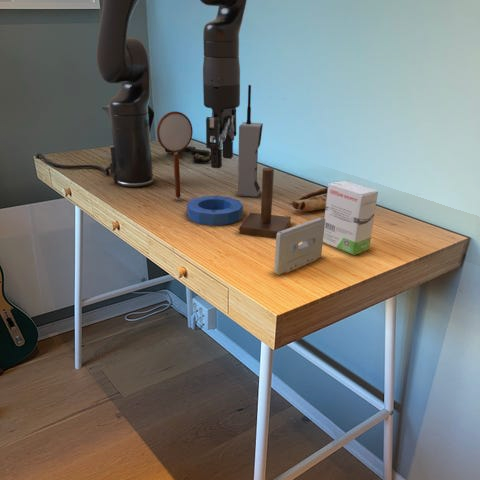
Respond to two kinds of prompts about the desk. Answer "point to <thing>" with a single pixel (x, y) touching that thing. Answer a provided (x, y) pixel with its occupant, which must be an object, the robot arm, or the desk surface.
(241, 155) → the vintage mobile phone
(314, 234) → the cassette
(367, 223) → the ink box
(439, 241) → the desk surface
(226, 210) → the tape roll
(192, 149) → the rubber snake
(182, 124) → the magnifying glass
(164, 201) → the desk surface
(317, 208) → the lashed bone hook
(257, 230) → the peg stand
